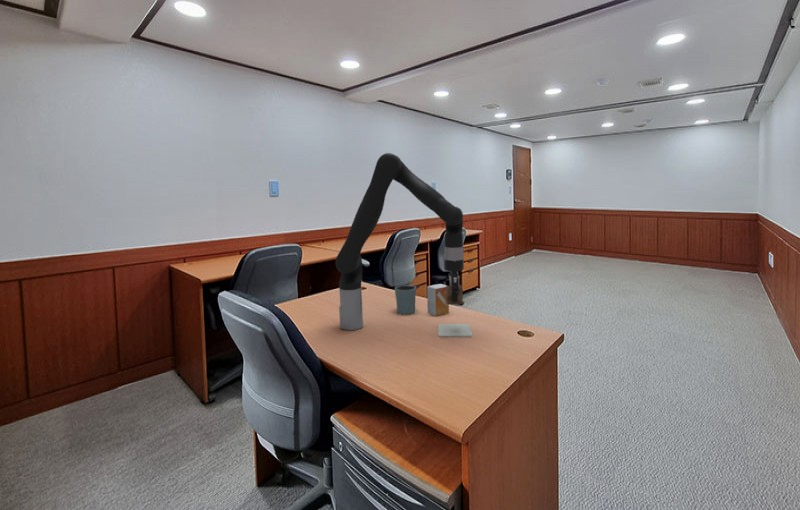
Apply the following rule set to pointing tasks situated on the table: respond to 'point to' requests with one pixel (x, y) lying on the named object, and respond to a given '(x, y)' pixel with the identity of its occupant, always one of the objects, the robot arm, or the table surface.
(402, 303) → the grey cup
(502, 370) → the table surface
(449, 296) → the cube
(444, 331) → the pad
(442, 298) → the small box
